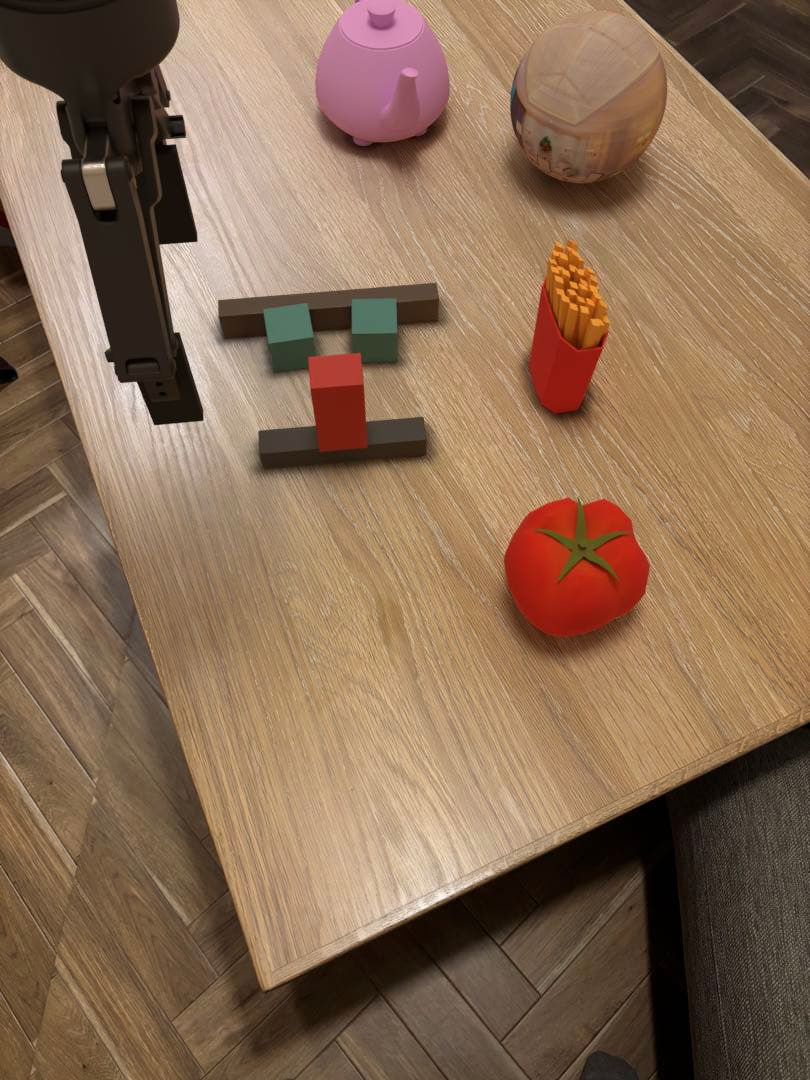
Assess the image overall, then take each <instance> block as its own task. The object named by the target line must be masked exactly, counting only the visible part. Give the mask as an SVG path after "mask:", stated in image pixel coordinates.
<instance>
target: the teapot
mask: <svg viewBox="0 0 810 1080" xmlns="http://www.w3.org/2000/svg"><path fill="white" fill-rule="evenodd" d="M317 60H318V61H317V66H316V72H315V80H314V83H315V85H314V86H315V96H316V100H317V103H318V105H319V107H320V109H321V111H322V113H323V114H324V116H325V117H326V118H328V120H329V121H330V122H331V123H332V124H333V125H335V126H336V127H337V128H339V129H340V130H342V131H343V132H344V133H346V134H348V135H350V136H351V137H352V141H353V142H354V143H355V144H356V145H358V146H363V147H364V146H365V147H366V146H370V145H372V144H373V143H392V142H398V141H403V140H407V139H409V138H412V137H420V136H423V135H424V134H426V133H427V131H428V127H429V126H431V125H432V124H433V123H435V121H436V120H437V119H438V118H439V117H440V116H441V114H443V112H444V110H445V108H446V106H447V103H448V102H449V98H450V91H451V90H450V89H451V87H450V85H451V84H450V74H449V68H448V63H447V60H446V56H445V53H444V51H443V48H442V45H441V44H440V41H439V40H438V38H437V36H436V35H435V33H434V31H433V29H432V27H431V26H430V24H429V23H428V21H427V20H426V18H425V17H424V16H423V15H422V14H421V12H420V11H419V10H418V8H416V7H415V6H413V5H411V4H410V3H408V2H406V1H404V0H354V3H353V4H351V5H350V6H348V7H347V8H346V9H345V10H344V11H343V12H342V13H341V14H340V16H339V17H338V18H337V20H336V22H335V23H334V25H333V27H332V28H331V30H330V32H329V34H328V35H327V37H326V39H325V41H324V43H323V45H322V48H321V51H320V54H319V56H318V59H317Z"/></svg>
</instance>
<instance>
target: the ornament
mask: <svg viewBox="0 0 810 1080" xmlns="http://www.w3.org/2000/svg"><path fill="white" fill-rule="evenodd" d="M511 84H512V85H511V89H510V99H509V111H510V120H511V125H512V129H513V134H514V136H515V138H516V141H517V143H518V145H519V147H520V149H521V150H522V152H523V154H524V155H525V156H526V158H527V159H528V160H529V161H530V162H531V163H532V164H533V165H534V166H535V167H536V168H537V169H538V170H540V171H541V172H543V173H544V174H546V175H547V176H549V177H552V178H554V179H557V180H559V181H562V182H565V183H566V182H567V183H570V184H571V183H572V184H590V183H597V182H601V181H604V180H607V179H610V178H612V177H614V176H616V175H618V174H619V175H620V174H621V173H622V172H623V171H624V170H626V169H628V168H629V167H631V166H632V165H633V164H634V163H635V162H636V161H637V160H638V159H639V158H641V157H642V155H643V154H644V153H645V152H646V151H647V149H648V148H649V147H650V145H651V144H652V142H653V140H654V138H655V137H656V135H657V133H658V131H659V129H660V127H661V124H662V121H663V118H664V115H665V111H666V107H667V99H668V80H667V72H666V67H665V63H664V60H663V57H662V55H661V52H660V50H659V48H658V46H657V44H656V43H655V42H654V40H653V39H652V37H651V36H650V35H649V34H648V33H647V31H646V30H645V29H643V28H642V27H641V25H639V24H638V23H637V22H635V21H633V20H632V19H630V18H628V17H626V16H625V15H621V14H619V13H616V12H613V11H609V10H586V11H580V12H576V13H572V14H569V15H568V16H565V17H563V18H561V19H559V20H557V21H555V22H554V23H552V24H551V25H549V26H548V27H546V28H545V29H544V30H543V31H542V32H541V33H540V34H539V35H538V36H537V37H536V38H535V39H533V42H532V43H531V44H530V45H529V47H528V48H527V50H526V51H525V52H524V53H523V56H522V57H521V60H520V61H519V64H518V66H517V68H516V71H515V73H514V77H513V80H512V83H511Z"/></svg>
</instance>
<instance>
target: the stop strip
mask: <svg viewBox="0 0 810 1080" xmlns="http://www.w3.org/2000/svg"><path fill="white" fill-rule="evenodd" d="M439 295H440V294H439V290H438V283H437V282H428V283H414V284H402V285H391V286H390V285H389V286H388V285H387V286H377V287H366V288H364V287H363V288H351V289H340V290H339V289H337V290H327V291H314V292H304V293H303V292H301V293H289V294H288V293H287V294H278V295H266V296H265V295H264V296H263V295H262V296H253V297H252V296H251V297H240V298H227V299H225V298H224V299H218V300H217V309H218V310H217V312H218V313H217V315H218V320H219V324H220V327H221V331H222V335H223V339H225V340H226V339H238V338H249V337H250V338H251V337H261V336H267V332H266V326H265V319H264V313H263V309H269V308H276V307H283V306H290V305H297V304H304V303H307V304H308V308H309V313H310V318H311V324H312V329H313V332H322V331H334V330H345V329H352V299H390V298H396V302H397V325H407V324H420V323H430V322H431V323H432V322H439V312H440V311H439V309H440V296H439Z"/></svg>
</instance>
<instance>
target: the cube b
mask: <svg viewBox="0 0 810 1080" xmlns="http://www.w3.org/2000/svg"><path fill="white" fill-rule="evenodd" d="M351 343H352V354H353V353H361V361H362V364H363V363H398V324H397V302H396V298H390V299H352V328H351Z"/></svg>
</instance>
